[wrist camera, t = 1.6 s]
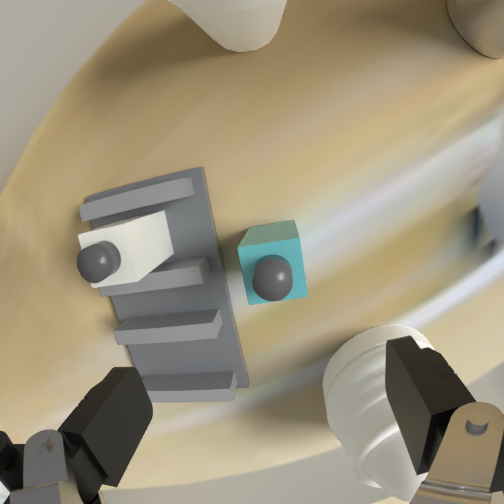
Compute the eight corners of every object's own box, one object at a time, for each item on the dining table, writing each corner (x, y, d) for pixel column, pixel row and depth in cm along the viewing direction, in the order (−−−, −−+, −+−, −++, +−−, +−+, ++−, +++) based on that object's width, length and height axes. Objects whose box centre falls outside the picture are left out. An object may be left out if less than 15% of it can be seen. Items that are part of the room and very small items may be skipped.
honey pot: (421, 411, 32) (471, 523, 14) (319, 424, 33) (330, 557, 16) (441, 318, 29) (537, 426, 12) (324, 329, 30) (356, 478, 13)
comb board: (203, 167, 28) (191, 166, 24) (249, 381, 32) (245, 405, 29) (91, 196, 29) (68, 200, 25) (147, 386, 34) (135, 406, 30)
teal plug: (294, 220, 28) (301, 244, 18) (301, 263, 29) (310, 308, 19) (249, 227, 29) (232, 255, 19) (257, 270, 29) (245, 317, 20)
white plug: (164, 210, 28) (108, 229, 18) (174, 253, 29) (124, 291, 19) (125, 218, 28) (61, 240, 19) (135, 260, 29) (77, 297, 20)
